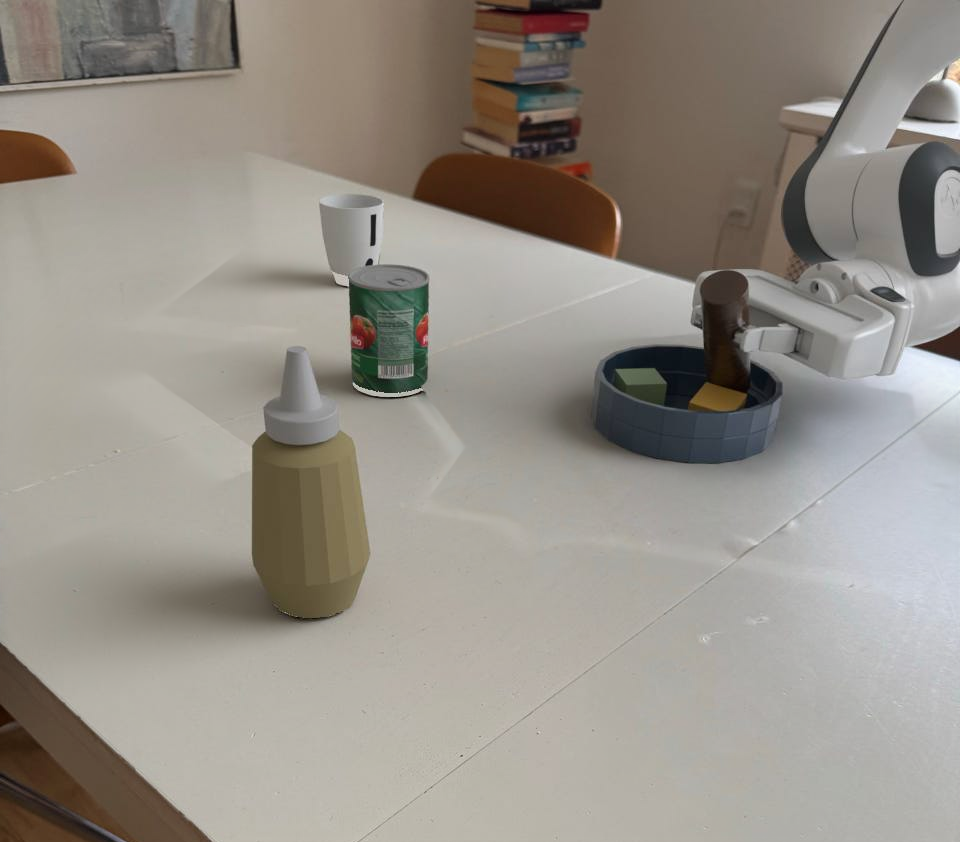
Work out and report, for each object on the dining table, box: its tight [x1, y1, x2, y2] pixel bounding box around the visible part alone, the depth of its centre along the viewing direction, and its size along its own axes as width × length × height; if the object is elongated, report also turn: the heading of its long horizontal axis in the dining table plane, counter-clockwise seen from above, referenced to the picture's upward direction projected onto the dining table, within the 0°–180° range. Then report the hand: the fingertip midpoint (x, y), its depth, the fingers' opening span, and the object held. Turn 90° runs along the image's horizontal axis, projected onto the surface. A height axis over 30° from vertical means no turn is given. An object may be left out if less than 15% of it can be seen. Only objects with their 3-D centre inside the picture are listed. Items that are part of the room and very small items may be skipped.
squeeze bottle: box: [251, 345, 371, 620], centre depth 65 cm, size 8×8×18 cm
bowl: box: [590, 343, 784, 464], centre depth 95 cm, size 17×17×6 cm
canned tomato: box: [348, 263, 430, 393], centre depth 100 cm, size 8×8×11 cm
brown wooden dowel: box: [700, 269, 751, 394], centre depth 89 cm, size 4×4×12 cm
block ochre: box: [688, 382, 747, 411], centre depth 92 cm, size 4×4×4 cm
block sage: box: [613, 368, 667, 406], centre depth 96 cm, size 4×4×4 cm
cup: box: [318, 193, 385, 276], centre depth 128 cm, size 8×8×10 cm
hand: (717, 329), depth 87 cm, fingers closed on brown wooden dowel, 4 cm apart
